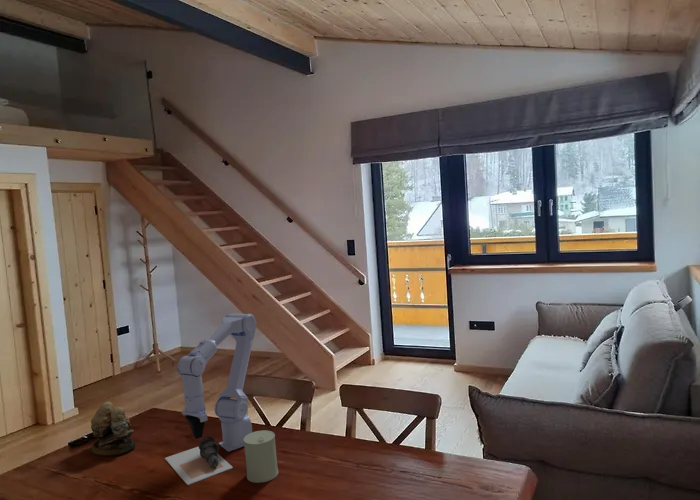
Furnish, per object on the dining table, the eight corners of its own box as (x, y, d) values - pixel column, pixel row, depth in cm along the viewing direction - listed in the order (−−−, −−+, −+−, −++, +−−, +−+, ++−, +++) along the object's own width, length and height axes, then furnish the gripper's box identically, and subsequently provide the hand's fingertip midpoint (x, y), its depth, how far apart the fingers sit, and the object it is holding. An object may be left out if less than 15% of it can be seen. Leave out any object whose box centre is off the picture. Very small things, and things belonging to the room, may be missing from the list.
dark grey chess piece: (194, 451, 165) (202, 475, 154) (201, 434, 164) (209, 457, 154) (212, 453, 168) (220, 476, 157) (218, 437, 167) (228, 459, 157)
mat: (206, 444, 175) (206, 443, 175) (233, 468, 157) (232, 467, 157) (164, 458, 167) (164, 457, 167) (187, 485, 149) (187, 484, 149)
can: (252, 486, 146) (248, 445, 145) (243, 472, 154) (239, 434, 153) (282, 476, 150) (279, 436, 149) (272, 463, 158) (269, 425, 157)
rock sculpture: (147, 444, 179) (141, 396, 178) (119, 460, 168) (113, 410, 167) (109, 438, 186) (103, 392, 185) (80, 453, 176) (74, 405, 174)
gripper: (173, 392, 161) (177, 434, 162) (188, 404, 149) (193, 449, 151) (195, 386, 165) (199, 427, 166) (212, 397, 154) (216, 441, 155)
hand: (198, 437), depth 159 cm, fingers closed
